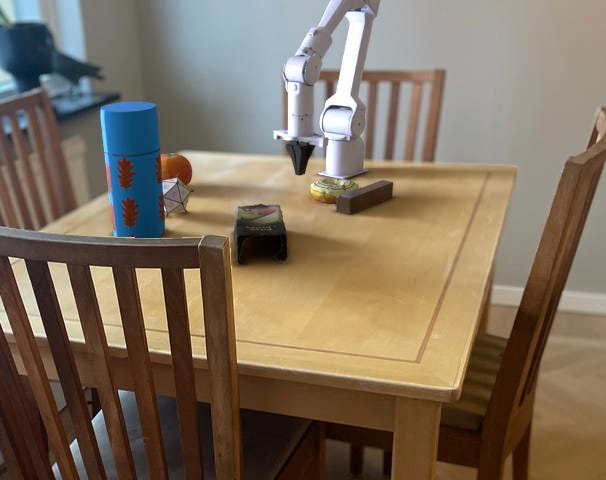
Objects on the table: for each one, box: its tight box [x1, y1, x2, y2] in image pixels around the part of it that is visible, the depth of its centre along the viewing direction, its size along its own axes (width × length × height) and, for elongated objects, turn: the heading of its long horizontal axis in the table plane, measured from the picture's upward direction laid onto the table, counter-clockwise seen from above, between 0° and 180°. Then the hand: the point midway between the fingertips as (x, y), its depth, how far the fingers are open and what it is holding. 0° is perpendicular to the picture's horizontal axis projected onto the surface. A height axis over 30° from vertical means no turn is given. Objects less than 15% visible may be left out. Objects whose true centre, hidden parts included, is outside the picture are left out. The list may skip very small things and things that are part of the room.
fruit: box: [161, 152, 193, 187], centre depth 189 cm, size 11×10×8 cm
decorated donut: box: [309, 177, 360, 204], centre depth 179 cm, size 10×11×4 cm
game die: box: [162, 174, 195, 219], centre depth 171 cm, size 9×8×10 cm
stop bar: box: [335, 179, 394, 215], centre depth 174 cm, size 16×4×4 cm, turn 136°
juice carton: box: [232, 203, 289, 265], centre depth 152 cm, size 20×10×6 cm, turn 1°
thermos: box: [100, 101, 166, 239], centre depth 156 cm, size 11×11×25 cm
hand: (300, 174), depth 184 cm, fingers closed
